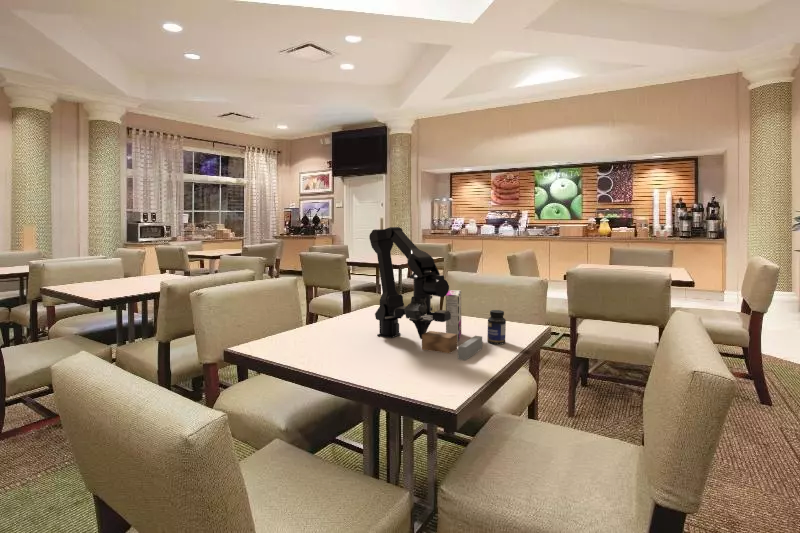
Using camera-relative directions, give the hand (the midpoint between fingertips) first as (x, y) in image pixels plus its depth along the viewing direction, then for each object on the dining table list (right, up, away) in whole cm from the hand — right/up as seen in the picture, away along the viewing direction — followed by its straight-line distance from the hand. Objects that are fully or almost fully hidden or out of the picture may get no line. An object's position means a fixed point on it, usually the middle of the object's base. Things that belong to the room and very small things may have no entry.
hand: (421, 339), depth 159 cm
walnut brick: (+6, -3, -3) cm, 7 cm away
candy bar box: (+12, -2, +13) cm, 18 cm away
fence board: (+15, -3, -8) cm, 17 cm away
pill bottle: (+26, -2, +5) cm, 27 cm away
